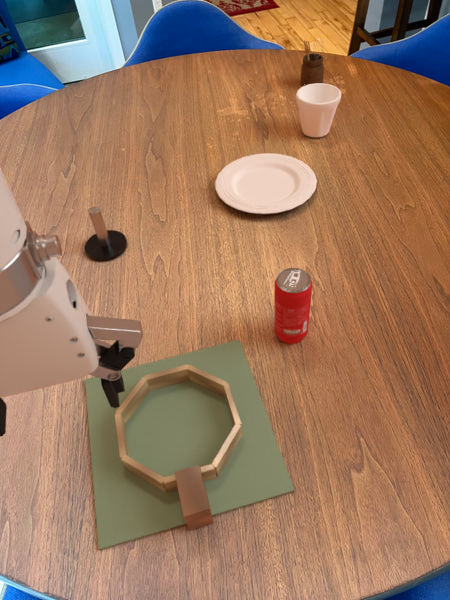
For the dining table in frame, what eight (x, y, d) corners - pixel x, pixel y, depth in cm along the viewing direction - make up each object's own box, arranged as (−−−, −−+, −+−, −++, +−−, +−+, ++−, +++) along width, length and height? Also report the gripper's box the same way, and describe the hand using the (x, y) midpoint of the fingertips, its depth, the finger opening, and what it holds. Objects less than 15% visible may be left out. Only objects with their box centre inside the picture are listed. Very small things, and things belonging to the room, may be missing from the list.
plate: (300, 153, 107) (300, 146, 106) (329, 210, 93) (330, 202, 92) (208, 168, 106) (208, 161, 104) (224, 228, 92) (224, 220, 91)
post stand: (87, 265, 88) (72, 229, 81) (84, 238, 93) (70, 201, 86) (130, 255, 89) (118, 218, 82) (124, 229, 94) (113, 192, 87)
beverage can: (269, 341, 74) (269, 288, 65) (279, 316, 77) (281, 263, 68) (302, 350, 72) (307, 297, 63) (311, 324, 75) (317, 270, 66)
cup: (340, 142, 109) (344, 102, 102) (296, 144, 110) (297, 105, 103) (334, 119, 116) (338, 81, 109) (292, 122, 116) (294, 84, 109)
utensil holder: (327, 82, 129) (331, 35, 120) (312, 91, 126) (316, 43, 117) (309, 77, 132) (312, 30, 123) (295, 85, 129) (297, 38, 120)
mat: (99, 550, 56) (98, 549, 55) (85, 380, 71) (84, 379, 71) (294, 491, 59) (294, 490, 58) (239, 340, 74) (239, 339, 74)
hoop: (135, 546, 55) (125, 534, 52) (115, 395, 69) (106, 376, 65) (265, 507, 57) (265, 492, 53) (221, 367, 71) (218, 347, 67)
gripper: (111, 204, 32) (150, 350, 45) (-164, 256, 30) (-41, 395, 43) (124, 281, 28) (164, 420, 40) (-203, 350, 25) (-50, 475, 38)
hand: (59, 407), depth 42 cm, fingers open, 9 cm apart
